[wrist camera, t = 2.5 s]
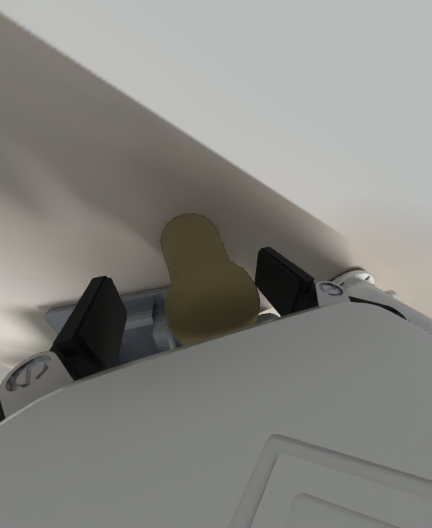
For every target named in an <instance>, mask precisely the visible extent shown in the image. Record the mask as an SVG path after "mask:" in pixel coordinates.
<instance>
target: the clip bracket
mask: <svg viewBox="0 0 432 528" xmlns="http://www.w3.org/2000/svg"><path fill="white" fill-rule="evenodd" d="M169 287H170V286H168V287H163V288H158V289H153V290H148V291H142V292H137V293H132V294H127V295H121V296H120V298H121V300H122V302H123V304H124V306H125V308H126V310H127V320H126V325H125V329H124V334H123V338H122V343H121V347H120V352H119V356H118V361H117V366H119V365H123V364H126V363H129V362H132V361H135V360H138V359H141V358H144V357H148V356H151V355H154V354H158V353H161V352H164V351H167V350H171V349H174V348H177V347H181V346H184V345H183V344H182V343H180V341H179V340H178V339H177V338H176V337H175V336H174V335H173V333H172V332H171V331H170V329H169V327H168V324H167V320H166V315H165V300H166V296H167V292H168V289H169ZM76 305H77V304H74V305H69V306H64V307H58V308H53V309H50V310H49V311H48V312H47V313H46V314H45V315H44V318H45V319H46V320H47V321H48V323H49V324H50V325H51V326H52V327H53V328H54V329H55V331H56V332H57V333H58V334H59V333H60V331H61V329H62V328H63V326H64V325H65V323H66V321H67V320H68V318H69V316H70V315H71V313H72V311H73V310H74V308H75V307H76Z"/></svg>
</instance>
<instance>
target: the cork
mask: <svg viewBox="0 0 432 528" xmlns="http://www.w3.org/2000/svg"><path fill="white" fill-rule="evenodd" d="M161 245H162V250H163V254H164V257H165V261H166V264H167V267H168V271H169V274H170V278H171V281H172V283H171V284H170V287H169V289H168V292H167V296H166V300H165V315H166V320H167V324H168V327H169V329H170V331H171V332H172V333H173V335H174V336H175V337H176V338H177V339H178V340H179V341H180V343H182V344H183V345H187V344H190V343H194V342H197V341H200V340H204V339H207V338H210V337H214V336H217V335H220V334H224V333H227V332H230V331H234V330H237V329H240V328H244V327H247V326H251V325H254V324H255V322H256V320H257V318H258V314H259V310H260V298H259V293H258V290H257V287H256V284H255V283H254V281H253V280H252V279H251V277H250V276H249V275H248V273H247V272H246V271H245V270H244V269H243V268H241V267H239V266H237V265H236V264H234V263H232V262H231V261H230V260H229V258H228V255H227V253H226V251H225V248H224V246H223V244H222V241H221V239H220V237H219V234H218V232H217V229H216V228H215V226H214V225H213V224H212V222H211V221H209V220H208V219H207V218H205V217H204V216H200V215H197V214H183V215H181V216H178V217H176V218H174V219H173V220H172V221H170V222H169V223H168V224H167V226H166V227H165V229H164V231H163V233H162V238H161Z"/></svg>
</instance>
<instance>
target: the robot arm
mask: <svg viewBox="0 0 432 528" xmlns="http://www.w3.org/2000/svg"><path fill="white" fill-rule="evenodd" d="M313 282H314V278H313V277H311V276H310V275H309V274H307V273H306V272H304V271H303V270H302V269H300V268H299V267H297V266H296V265H295V264H293V263H292V262H290V261H289V260H287V259H286V258H285V257H283V256H282V255H280V254H279V253H278V252H276V251H275V250H273V249H272V248H271V247H266V248H261V250H260V251H259V252H258V259H257V267H256V275H255V284H256V286H257V288H258V289H259V290H260V291H261V293H262V294H263V295H264V296H265V297H266V299H267V300H268V301H269V302H270V303H271V305H272V306H273V307H274V308H275V309H276V311H277V312H278V313H279V314H280V315H281V317H278V318H274V319H271V320H268V321H264V322H261V323H257V324H254V325H251V326H247V327H244V328H240V329H237V330H234V331H230V332H227V333H224V334H220V335H217V336H214V337H210V338H207V339H204V340H200V341H197V342H194V343H190V344H187V345H184V346H181V347H177V348H174V349H171V350H167V351H164V352H161V353H158V354H154V355H151V356H148V357H144V358H141V359H138V360H135V361H132V362H129V363H126V364H123V365H119V366H117V361H118V356H119V352H120V347H121V343H122V338H123V334H124V329H125V325H126V320H127V310H126V308H125V306H124V304H123V302H122V300H121V298H120V296H119V293H118V291H117V289H116V287H115V285H114V283H113V281H112V279H111V278H108V277H107V276H102V277H96V278H93V279H92V280H91V282H90V284H89V285H88V287H87V289H86V290H85V292H84V293H83V295H82V297H81V298H80V300H79V302H78V303H77V305H76V307H75V308H74V310H73V311H72V313H71V315H70V316H69V318H68V320H67V321H66V323H65V325H64V326H63V328H62V329H61V331H60V333H59V334H58V336H57V338H56V339H55V341H54V343H53V346H52V347H51V349H50V351H46V352H41V353H38V354H36V355H33V356H31V357H29V358H28V359H26V360H24V361H23V362H21V363H20V364H18V365H17V366H16V367H15V368H14V369H12V370H11V371H10V372H9V373H8V374H7V375H6V377H5V378H4V379H3V380H2V382H1V384H0V528H432V319H431V318H429V317H427V316H426V315H424V314H422V313H420V312H418V311H417V310H415V309H413V308H411V307H409V306H408V305H406V304H404V303H402V302H400V301H398V300H397V299H395V297H396V292H394V291H392V290H388V291H382V290H380V289H378V288H377V287H375V286H374V284H375V280H374V277H373V276H372V275H371V274H370V273H368V272H366V271H363V270H355V271H350V272H347V273H345V274H343V275H341V276H339V277H337V278H336V279H334V280H333V281H331V282H330V281H319V282H317V283H316V284H314V283H313Z"/></svg>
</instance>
